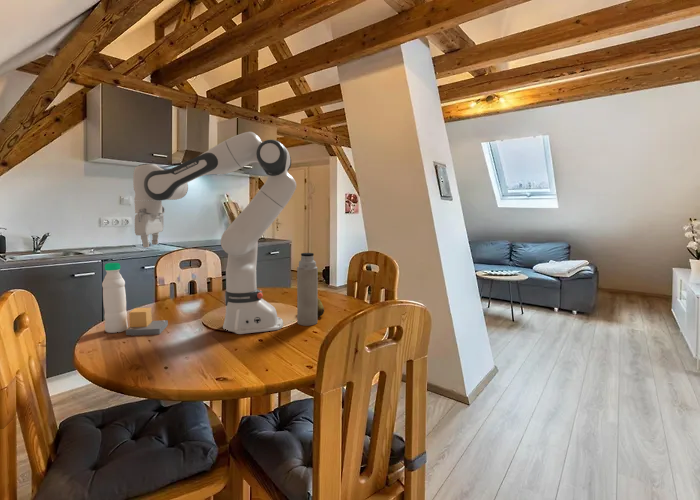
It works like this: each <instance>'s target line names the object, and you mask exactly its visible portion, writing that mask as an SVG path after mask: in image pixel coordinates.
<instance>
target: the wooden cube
mask: <svg viewBox="0 0 700 500" xmlns="http://www.w3.org/2000/svg"><path fill="white" fill-rule="evenodd" d="M128 314H129V315H128V316H129V327H147V326H148V325H149V324H150V323H151V322H152V321H153V317H152V316H153V315H152V307H135V308H133V309H132V310H131V311H129V312H128Z"/></svg>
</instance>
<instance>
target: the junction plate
mask: <svg viewBox="0 0 700 500" xmlns="http://www.w3.org/2000/svg"><path fill="white" fill-rule="evenodd" d="M168 326H169V321H168V320H165V319H164V320H163V319H162V320H152V322H151V323H150V324H149V325H148V326H147V327H130V326H128V328H127V329H126V330H125V335H131V336H151V335H161V334H162V333H163V332H164V330H165V329H166V328H168Z"/></svg>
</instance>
